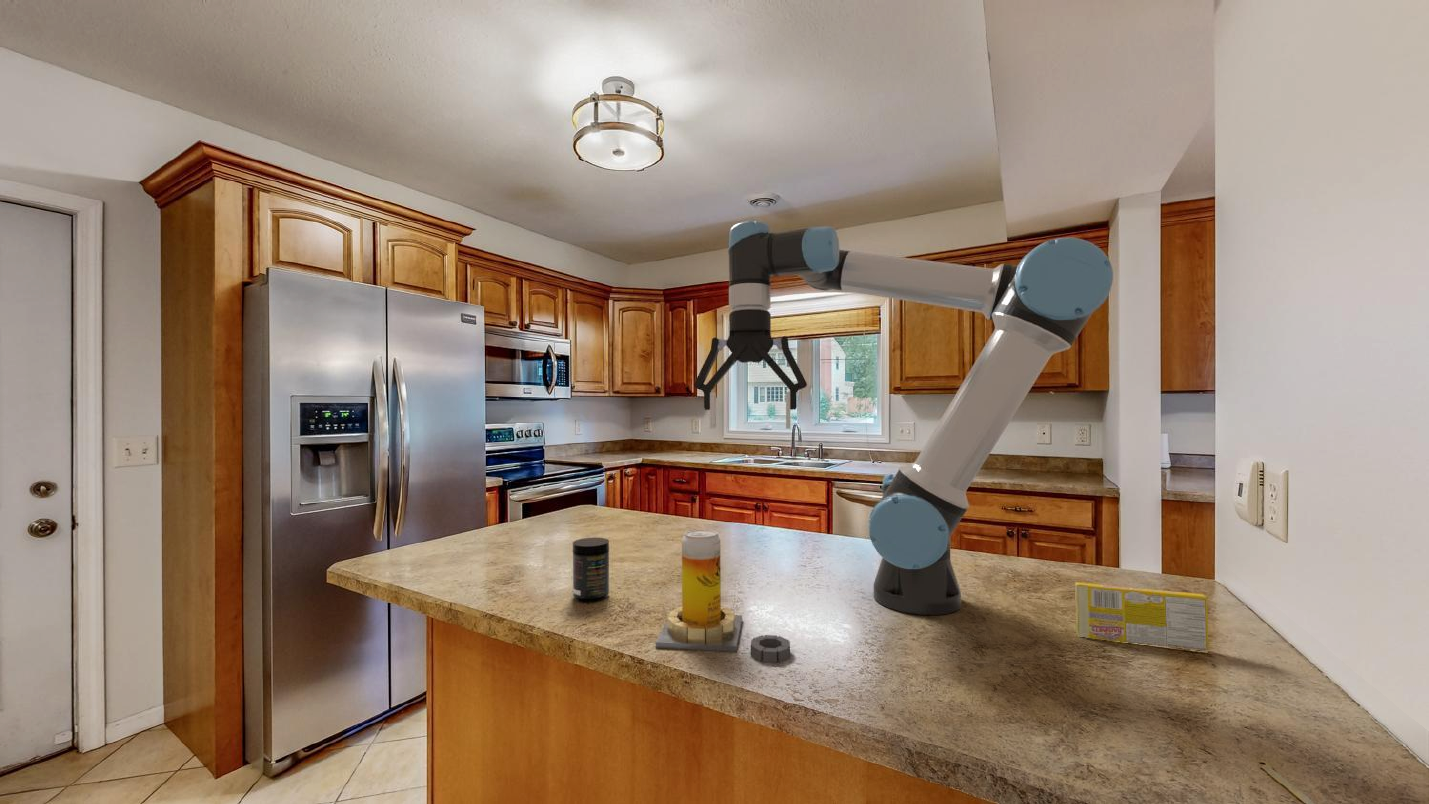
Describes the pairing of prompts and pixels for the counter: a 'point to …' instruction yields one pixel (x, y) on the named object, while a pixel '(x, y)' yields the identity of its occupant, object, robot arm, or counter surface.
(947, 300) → the robot arm
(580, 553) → the supplement container
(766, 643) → the ring
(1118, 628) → the candy box
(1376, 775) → the counter surface
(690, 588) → the beer can
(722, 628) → the collar block
